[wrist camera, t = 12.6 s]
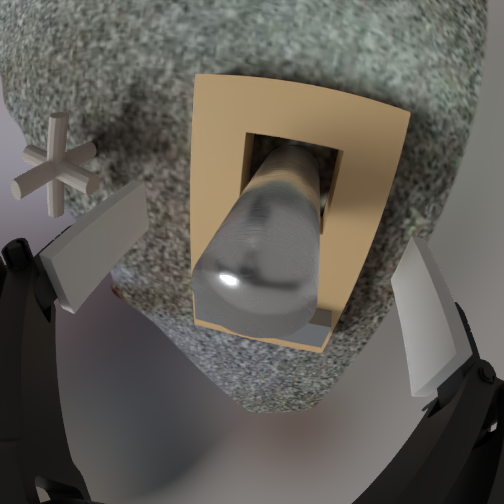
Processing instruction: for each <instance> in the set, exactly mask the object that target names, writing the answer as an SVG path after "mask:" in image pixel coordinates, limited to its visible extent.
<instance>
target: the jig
mask: <svg viewBox="0 0 504 504" xmlns="http://www.w3.org/2000/svg"><path fill="white" fill-rule="evenodd" d="M410 114H411V112H408V111H405V110H402V109H400V108H397V107H394V106H391V105H388V104H385V103H381V102H378V101H375V100H372V99H368V98H365V97H361V96H357V95H354V94H350V93H346V92H342V91H337V90H333V89H329V88H324V87H319V86H314V85H309V84H303V83H297V82H291V81H284V80H277V79H269V78H260V77H249V76H236V75H215V74H196V75H195V87H194V101H193V118H192V139H191V175H190V231H191V267H192V272H193V269H194V267H195V264H196V263H197V261H198V260H199V258H200V257H201V255H202V253H203V252H204V250H205V249H206V247H207V246H208V244H209V242H210V241H211V239H212V238H213V236H214V235H215V233H216V232H217V230H218V229H219V227H220V225H221V224H222V222H223V221H224V219H225V218H226V216H227V215H228V213H229V212H230V210H231V209H232V207H233V206H234V204H235V203H236V201H237V200H238V198H239V197H240V195H241V194H242V192H243V191H244V189H245V188H246V187H247V185H248V184H249V177H250V168H251V159H252V150H253V141H254V133H256V134H263V135H269V136H275V137H281V138H287V139H292V140H298V141H303V142H308V143H313V144H317V145H322V146H326V147H331V148H335V149H338V154H337V158H336V163H335V167H334V172H333V176H332V180H331V185H330V189H329V193H328V197H327V201H326V205H325V209H324V213H323V217H322V216H320V254H319V283H318V301H317V307H316V311H315V313H314V315H313V317H312V318H311V320H310V321H309V322H308V323H307V324H306V325H305V326H304V327H303V328H301V329H300V330H298V331H296V332H294V333H292V334H289V335H286V336H283V337H278V338H253V337H248V336H244V335H241V334H238V333H235V332H232V331H230V330H228V329H226V328H224V327H223V326H221V325H219V324H218V323H216V322H215V321H214V320H212V319H211V318H210V317H209V316H208V315H207V314H206V313H205V312H204V311H203V309H202V308H201V307H200V305H199V304H198V302H197V300H196V298H195V296H194V293H193V307H194V322H195V324H197V325H200V326H204V327H208V328H211V329H215V330H219V331H223V332H226V333H230V334H234V335H238V336H242V337H246V338H251V339H255V340H259V341H264V342H268V343H273V344H277V345H282V346H287V347H292V348H297V349H302V350H307V351H313V352H318V353H322V352H323V350H324V348H325V346H326V344H327V342H328V340H329V338H330V336H331V334H332V332H333V330H334V328H335V326H336V324H337V322H338V320H339V318H340V316H341V314H342V312H343V310H344V307H345V305H346V303H347V301H348V299H349V297H350V294H351V292H352V290H353V288H354V285H355V283H356V281H357V278H358V276H359V274H360V271H361V269H362V266H363V264H364V262H365V259H366V257H367V254H368V252H369V249H370V246H371V244H372V241H373V239H374V236H375V233H376V231H377V228H378V225H379V222H380V219H381V217H382V214H383V211H384V208H385V205H386V202H387V199H388V196H389V193H390V189H391V186H392V183H393V180H394V176H395V173H396V170H397V166H398V162H399V159H400V155H401V151H402V148H403V144H404V140H405V136H406V132H407V127H408V123H409V118H410Z"/></svg>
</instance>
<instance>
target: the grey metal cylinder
mask: <svg viewBox="0 0 504 504" xmlns="http://www.w3.org/2000/svg"><path fill="white" fill-rule="evenodd" d="M319 254H320V179H319V167H318V163H317V161H316V159H315V158H314V156H313V155H312V154H311V153H310V152H309V151H307V150H306V149H304V148H302V147H299V146H296V145H284V146H280V147H278V148H276V149H274V150H273V151H272V152H271V153H270V154H269V155H268V156H267V158H266V159H265V160H264V162H263V163H262V165H261V166H260V168H259V169H258V170H257V172H256V173H255V175H254V176H253V178H252V179H251V181H250V182H249V184H248V185H247V187H246V188H245V189H244V191H243V192H242V194H241V195H240V197H239V198H238V200H237V201H236V203H235V204H234V206H233V207H232V209H231V210H230V212H229V213H228V215H227V216H226V218H225V219H224V221H223V222H222V224H221V225H220V227H219V229H218V230H217V232H216V233H215V235H214V236H213V238H212V239H211V241H210V242H209V244H208V246H207V247H206V249H205V250H204V252H203V253H202V255H201V257H200V258H199V260H198V261H197V263H196V264H195V267H194V269H193V272H192V279H191V283H192V290H193V293H194V296H195V298H196V300H197V302H198V304H199V305H200V307H201V308H202V309H203V311H204V312H205V313H206V314H207V315H208V316H209V317H210V318H211V319H212V320H214V321H215V322H216V323H218V324H219V325H221V326H223V327H224V328H226V329H228V330H230V331H232V332H235V333H238V334H241V335H244V336H248V337H253V338H278V337H283V336H286V335H289V334H292V333H294V332H296V331H298V330H300V329H301V328H303V327H304V326H305V325H306V324H307V323H308V322H309V321H310V320H311V318H312V317H313V315H314V313H315V311H316V307H317V301H318V283H319Z"/></svg>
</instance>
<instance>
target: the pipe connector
mask: <svg viewBox="0 0 504 504" xmlns="http://www.w3.org/2000/svg"><path fill="white" fill-rule="evenodd" d="M68 119H69V114H68V113H65V112H57V113H53V114H51V115H50V119H49V130H48V145H47V151H45V150H42V149H40V148H38V147H36V146H34V145H28V146H27V147H26V148H25V149H24V151H23V154H22V158H23V161H25V162H26V163H29V164H30V165H32V166H34V167H35V168H33V169H31V170H29V171H27V172H26V173H24V174H22V175H20V176H19V177H17V178H15V179H13V180H12V181H11V183H10V188H11V192H12V194H13V196H14V198H15V199H16V200H20V199H22V198H23V197H25V196H26V195H28V194H29V193H31V192H33V191H34V190H36V189H37V188H39V187H41V186H42V185H44V184H46V183H47V199H48V214H49V216H51V217H53V218H56V217H60V216H62V215H63V214H64V183H66V184H68V185H70V186H72V187H74V188H76V189H78V190H80V191H82V192H84V193H86V194H87V195H90V194H92V193H93V192H94V191H95V190H96V189H97V187H98V184H99V176H98V175H97V174H95V173H93V172H90V171H88V170H86V169H84V168H82V167H80V166H78V165H80V164H82V163H84V162H86V161H88V160H90V159H92V158H94V157H95V155H96V147H95V145H94V144H93V143H92V142H88V143H85V144H83V145H80V146H78V147H76V148H74V149H71V150H69V151H67V152H65V148H66V137H67V128H68Z"/></svg>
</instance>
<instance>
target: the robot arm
mask: <svg viewBox="0 0 504 504" xmlns="http://www.w3.org/2000/svg"><path fill="white" fill-rule="evenodd" d="M148 229H149V224H148V215H147V205H146V193H145V182H141V181H131V182H130V183H128V184H127V185H125V186H124V187H122V188H121V189H120V190H118V191H117V192H115V193H114V194H112V195H111V196H110V197H108V198H107V199H106V200H104V201H103V202H102V203H100V204H99V205H97V206H96V207H95V208H94V209H92V210H91V211H90V212H88V213H87V214H86V215H84V216H83V217H82V218H81V219H79V220H78V221H77V222H76V223H74V224H73V225H71V226H69V227H67V228H66V229H65V230H64V231H63V232H61V234H60V235H58V236H57V237H56V238H55V240H52V241H51V242H50V243H49V244H48V245H46V246H45V247H44V248H43V249H42V250H41V251H40V252H39V253H38V254H37V255H36V256H34V257H33V255H32V252H31V250H30V247H29V244H28V241H27V240H26V239H25V238H17V239H15V240H12V241H11V242H9V243H8V244H7V245H6V246H5V247H4V248H3V249H2V251H1V252H2V255H3V257H4V260H5V262H6V264H7V265H4V262H3V260H2V258H1V256H0V504H104V503H99V502H94V501H91V498H90V495H89V493H88V490H87V487H86V484H85V481H84V479H83V476H82V475H81V473H80V471H79V470H78V469H77V467H76V466H75V465H74V463H73V461H72V458H71V455H70V451H69V447H68V443H67V438H66V433H65V428H64V423H63V418H62V411H61V404H60V398H59V388H58V378H57V365H56V344H55V317H56V316H55V314H56V309H55V305H54V303H53V302H54V301H55V300H56V299H57V298H58V300H59V302H60V304H61V306H62V308H64V309H66V310H68V311H70V312H72V313H75V312H76V311H77V310H78V309H79V307H80V306H81V305H82V303H83V302H84V301H85V300H86V299H87V297H88V296H89V295H90V294H91V293H92V291H93V290H94V289H95V288H96V287H97V285H98V284H99V283H100V282H101V281H102V279H103V278H104V277H105V276H106V275H107V274H108V273H109V271H110V270H111V269H112V268H113V267H114V266H115V265H116V263H117V262H118V261H119V260H120V259H121V258H122V257H123V256H124V255H125V254H126V252H127V251H128V250H129V249H130V248H131V247H132V246H133V245H134V244H135V243H136V242H137V241H138V240H139V238H140V237H141V236H142V235H143V234H144V233H145V232H146V231H147V230H148ZM391 283H392V287H393V291H394V295H395V300H396V304H397V308H398V313H399V317H400V322H401V327H402V332H403V337H404V343H405V349H406V355H407V362H408V369H409V376H410V384H411V392H412V397H428V396H429V395H430V394H431V393H432V392H434V391H435V390H436V389H437V391H438V397H436V398H435V399H434V400H433V401H431V402H430V403H429V404H428V405H426V406H425V407H424V408H423V409H422V411H425V410H426V409H427V408H428V410H427V411H426V413H425V415H424V416H423V418H422V419H421V421H420V422H419V424H418V425H417V427H416V429H415V430H414V431H413V433H412V434H411V436H410V437H409V438H408V440H407V441H406V443H405V444H404V445H403V446H402V448H401V449H400V450H399V452H398V453H397V454H396V456H395V457H394V458H393V459H392V461H391V462H390V463H389V464H388V465H387V467H386V468H385V469H384V470H383V471H382V472H381V474H380V475H379V476H378V477H377V478H376V479H375V481H373V483H372V484H371V485H370V486H369V487H368V488H367V489H366V490H365V491H364V492H363V493H362V494H361V495H360V496H359V497H358V498H357V499H356V500H355V501H354V502H353V503H352V504H504V381H503V380H501V379H499V378H497V377H496V373H495V371H494V369H493V367H492V366H491V365H490V363H489V362H487V361H485V360H482V359H480V356H479V353H478V350H477V346H476V343H475V341H474V338H473V335H472V332H470V330H471V329H470V326H469V324H467V322H468V321H467V319H466V316H465V313H464V312H463V310H462V309H461V307H460V306H459V304H458V303H457V302H454V300H453V298H452V295H451V293H450V291H449V288H448V286H447V284H446V282H445V279H444V277H443V275H442V273H441V271H440V269H439V267H438V265H437V263H436V261H435V258H434V257H433V254H432V252H431V251H430V249H429V247H428V245H427V243H426V241H425V239H422V238H419V237H415V236H411V238H410V240H409V243H408V245H407V247H406V249H405V251H404V254H403V256H402V258H401V260H400V262H399V264H398V266H397V268H396V270H395V272H394V274H393V276H392V278H391ZM495 423H497V427H496V429H495V430H494V431H492V432H491V426H492V425H494V424H495ZM36 486H37V487H40V488H43V489H44V490H45V491H46V492H47V493H48V495H49V497H50V500H49V501H45V502H41V503H40V500H39V497H38V494H37V490H36Z"/></svg>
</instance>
